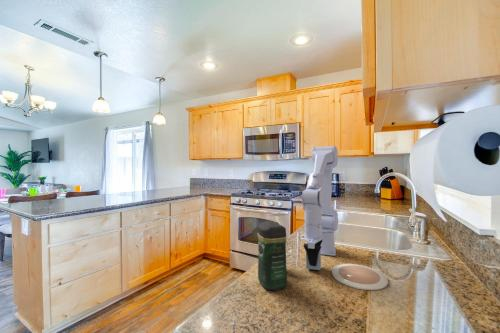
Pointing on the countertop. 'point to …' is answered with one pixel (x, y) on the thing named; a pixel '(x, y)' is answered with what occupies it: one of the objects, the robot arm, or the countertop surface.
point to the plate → (360, 277)
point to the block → (317, 262)
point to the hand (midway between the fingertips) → (313, 262)
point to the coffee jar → (272, 255)
